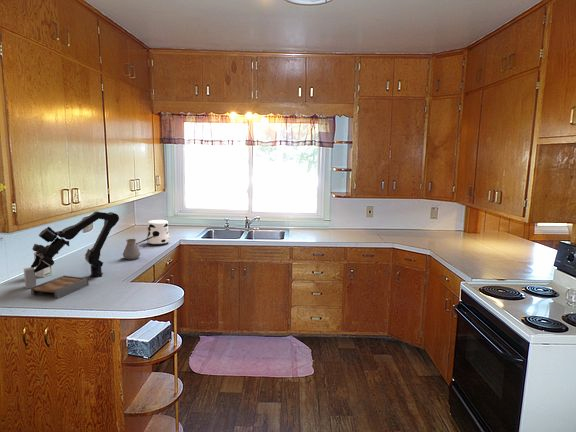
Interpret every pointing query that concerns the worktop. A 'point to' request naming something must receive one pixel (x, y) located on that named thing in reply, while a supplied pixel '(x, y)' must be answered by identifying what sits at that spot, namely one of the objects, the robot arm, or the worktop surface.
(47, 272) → the syrup box
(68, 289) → the frame
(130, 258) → the coffee pot
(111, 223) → the robot arm
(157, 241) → the milk container
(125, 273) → the worktop surface
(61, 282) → the trapdoor
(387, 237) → the worktop surface
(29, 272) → the stone
